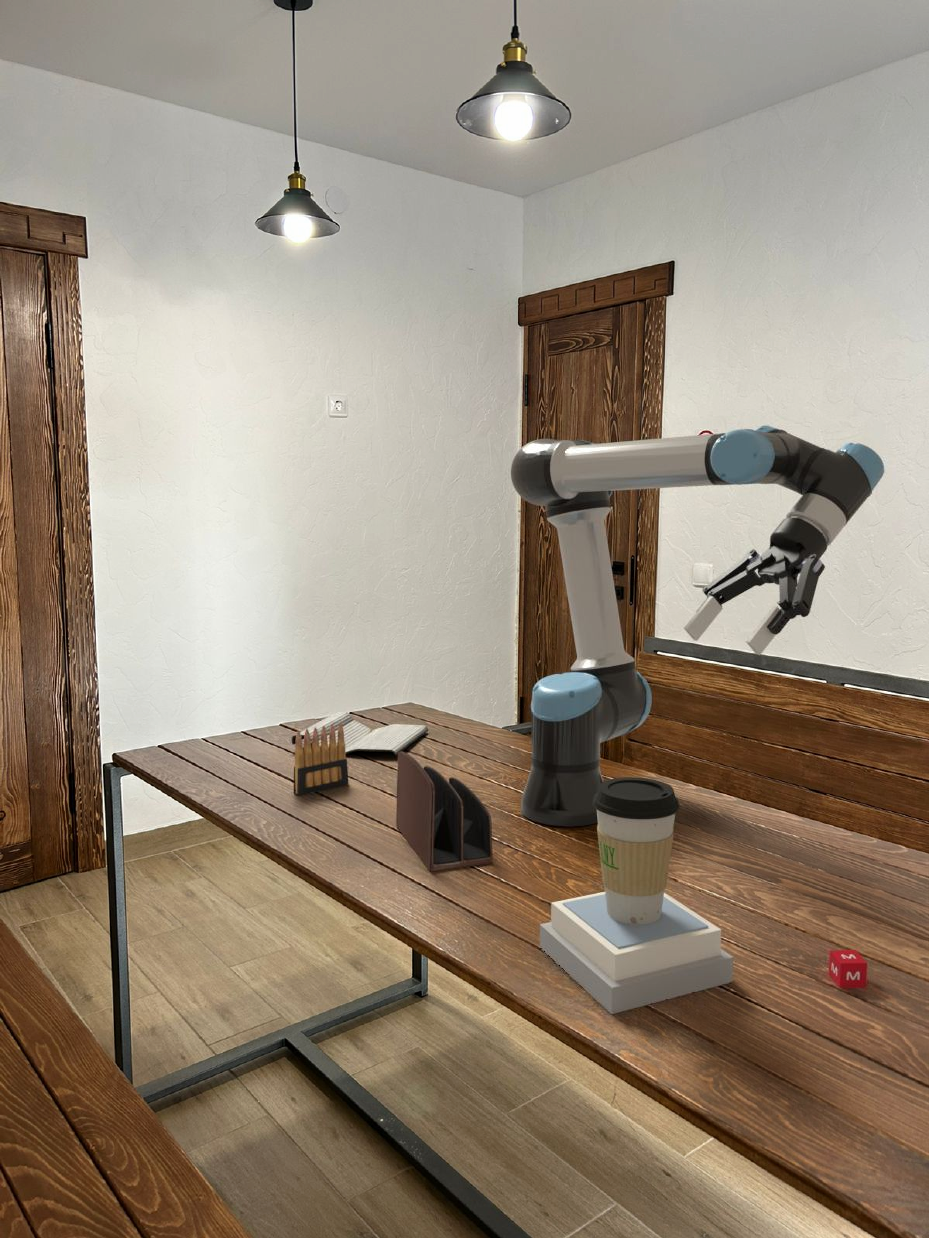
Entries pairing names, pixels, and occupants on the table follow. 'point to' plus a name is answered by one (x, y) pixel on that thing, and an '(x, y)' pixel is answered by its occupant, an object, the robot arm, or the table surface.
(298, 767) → the ammunition clip
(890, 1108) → the table surface
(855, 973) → the red letter cube
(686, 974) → the plinth
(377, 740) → the open book
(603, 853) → the coffee cup
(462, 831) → the letter holder
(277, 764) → the table surface
